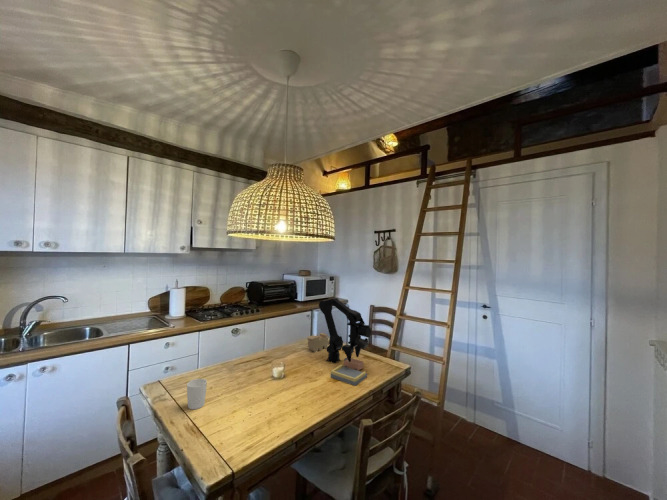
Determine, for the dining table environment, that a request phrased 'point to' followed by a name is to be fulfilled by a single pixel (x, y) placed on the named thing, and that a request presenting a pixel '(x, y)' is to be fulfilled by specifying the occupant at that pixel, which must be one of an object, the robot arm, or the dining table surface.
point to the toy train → (318, 342)
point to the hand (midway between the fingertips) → (353, 359)
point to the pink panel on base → (353, 364)
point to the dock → (348, 375)
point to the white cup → (196, 393)
